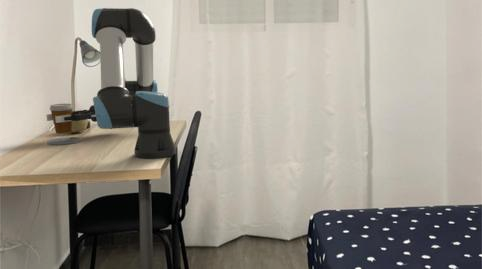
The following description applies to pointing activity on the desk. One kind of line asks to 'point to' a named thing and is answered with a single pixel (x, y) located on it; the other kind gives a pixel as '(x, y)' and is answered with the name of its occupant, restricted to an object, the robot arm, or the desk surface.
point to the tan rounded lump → (79, 126)
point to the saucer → (64, 141)
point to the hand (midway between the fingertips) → (51, 118)
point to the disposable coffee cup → (60, 111)
